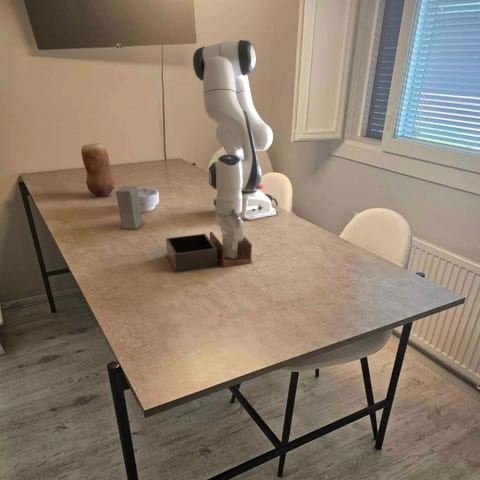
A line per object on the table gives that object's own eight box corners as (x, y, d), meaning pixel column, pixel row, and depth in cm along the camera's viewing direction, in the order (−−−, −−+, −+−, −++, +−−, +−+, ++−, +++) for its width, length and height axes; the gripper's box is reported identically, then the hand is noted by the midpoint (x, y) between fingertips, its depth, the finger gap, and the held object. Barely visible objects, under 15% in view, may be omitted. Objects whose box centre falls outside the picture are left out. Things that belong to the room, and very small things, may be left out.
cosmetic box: (136, 230, 176) (131, 192, 168) (120, 228, 178) (114, 190, 169) (144, 223, 183) (139, 186, 175) (128, 221, 185) (123, 184, 176)
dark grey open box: (205, 250, 161) (204, 233, 157) (217, 266, 149) (216, 248, 146) (167, 255, 156) (165, 238, 153) (176, 272, 145) (174, 254, 141)
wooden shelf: (237, 246, 164) (237, 228, 160) (251, 262, 152) (252, 243, 148) (209, 250, 161) (209, 231, 157) (222, 267, 149) (221, 247, 145)
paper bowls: (147, 201, 208) (146, 185, 203) (166, 209, 199) (164, 192, 194) (120, 208, 199) (117, 191, 194) (138, 216, 190) (136, 199, 185)
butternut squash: (94, 191, 219) (85, 140, 206) (120, 192, 219) (112, 140, 205) (85, 200, 208) (74, 146, 194) (112, 201, 207) (104, 146, 194)
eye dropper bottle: (227, 260, 153) (227, 228, 147) (221, 254, 158) (221, 223, 151) (238, 258, 155) (239, 227, 148) (232, 252, 159) (232, 221, 153)
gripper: (248, 214, 139) (247, 254, 146) (228, 196, 155) (228, 232, 162) (230, 216, 137) (229, 256, 144) (212, 198, 153) (212, 234, 160)
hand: (229, 243), depth 153 cm, fingers open, 8 cm apart
